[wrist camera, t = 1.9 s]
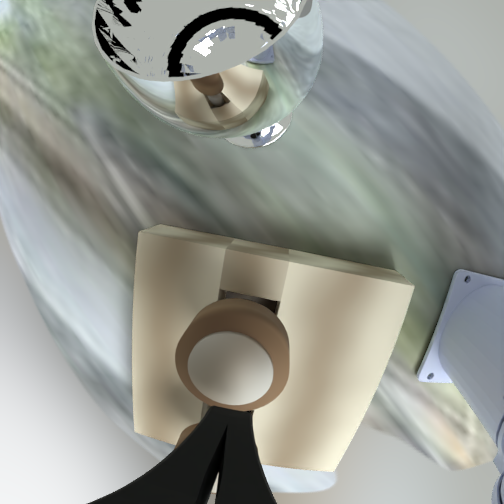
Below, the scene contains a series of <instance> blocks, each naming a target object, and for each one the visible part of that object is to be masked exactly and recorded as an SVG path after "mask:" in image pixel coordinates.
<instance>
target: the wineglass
mask: <svg viewBox="0 0 504 504" xmlns="http://www.w3.org/2000/svg"><path fill="white" fill-rule="evenodd" d="M92 31H93V36H94V41H95V44H96V46H97V48H98V50H99V51H100V53H101V55H102V56H103V58H104V60H105V62H106V63H107V65H108V67H109V69H110V70H111V71H112V73H113V74H114V75H115V76H116V78H117V79H118V80H119V82H120V83H121V84H122V86H123V87H124V88H125V90H126V91H127V92H128V93H129V94H130V95H131V96H132V97H133V98H134V99H135V100H136V101H137V102H138V103H139V104H140V105H141V106H142V107H143V108H145V109H146V110H147V111H148V112H150V113H151V114H152V115H153V116H154V117H156V118H157V119H158V120H160V121H162V122H164V123H166V124H168V125H169V126H171V127H173V128H175V129H178V130H180V131H182V132H185V133H188V134H192V135H196V136H200V137H206V138H219V139H221V138H224V139H226V140H227V141H228V142H230V143H231V144H233V145H236V146H239V147H243V148H260V147H265V146H267V145H269V144H272V143H274V142H275V141H277V140H278V139H279V138H280V137H282V135H283V134H284V133H285V132H286V131H287V129H288V127H289V125H290V123H291V120H292V116H293V110H294V109H295V108H296V107H297V106H298V105H299V104H300V103H301V101H302V100H303V99H304V98H305V97H306V95H307V94H308V92H309V91H310V89H311V87H312V85H313V84H314V82H315V79H316V77H317V74H318V71H319V68H320V65H321V60H322V55H323V22H322V16H321V11H320V7H319V2H318V0H97V1H96V4H95V6H94V11H93V20H92Z"/></svg>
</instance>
